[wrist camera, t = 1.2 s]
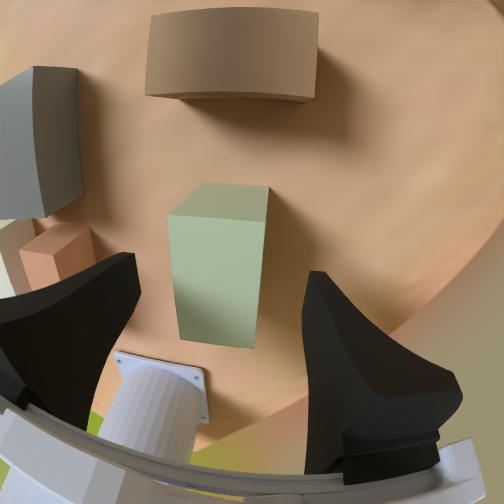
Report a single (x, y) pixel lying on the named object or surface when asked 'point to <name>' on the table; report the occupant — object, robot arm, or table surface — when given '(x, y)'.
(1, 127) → the charcoal brick
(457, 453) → the robot arm
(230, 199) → the sage brick
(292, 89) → the walnut brick
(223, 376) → the table surface
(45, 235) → the terracotta brick
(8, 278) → the pale grey brick
